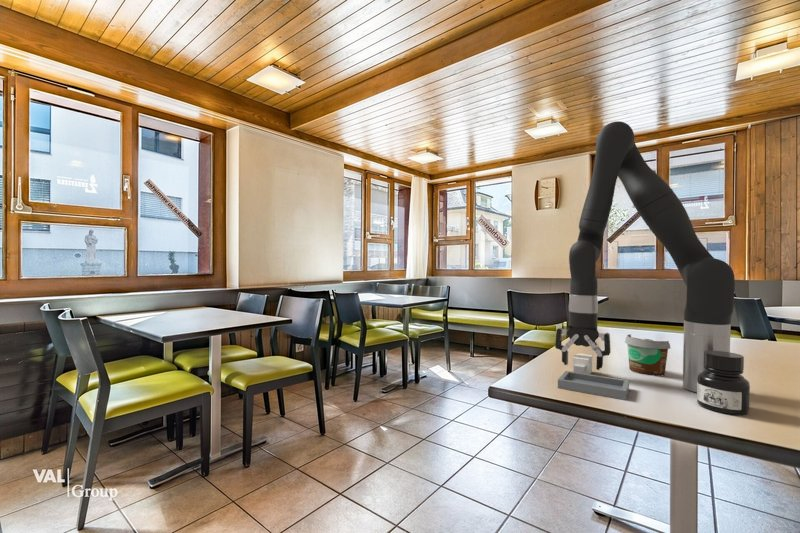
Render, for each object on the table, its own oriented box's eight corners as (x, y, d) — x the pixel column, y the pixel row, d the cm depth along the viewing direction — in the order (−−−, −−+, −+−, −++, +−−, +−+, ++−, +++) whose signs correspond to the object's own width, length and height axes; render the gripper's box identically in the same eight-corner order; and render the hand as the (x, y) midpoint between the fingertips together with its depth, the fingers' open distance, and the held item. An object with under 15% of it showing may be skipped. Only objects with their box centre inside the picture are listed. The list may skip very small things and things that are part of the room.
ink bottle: (686, 403, 89) (687, 350, 88) (709, 398, 92) (710, 347, 92) (737, 419, 80) (738, 361, 80) (760, 413, 83) (761, 357, 83)
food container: (615, 368, 118) (615, 335, 118) (628, 366, 121) (628, 333, 121) (656, 379, 107) (657, 343, 107) (670, 376, 110) (670, 341, 110)
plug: (592, 372, 114) (592, 355, 114) (586, 380, 106) (587, 361, 106) (577, 370, 116) (577, 353, 116) (571, 377, 108) (571, 359, 108)
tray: (628, 388, 98) (629, 380, 98) (625, 400, 90) (626, 391, 90) (565, 378, 107) (565, 370, 107) (557, 387, 99) (557, 379, 99)
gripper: (612, 311, 111) (611, 368, 111) (559, 307, 119) (558, 360, 119) (609, 314, 105) (608, 374, 105) (554, 309, 112) (552, 365, 113)
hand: (581, 366), depth 112 cm, fingers open, 8 cm apart
